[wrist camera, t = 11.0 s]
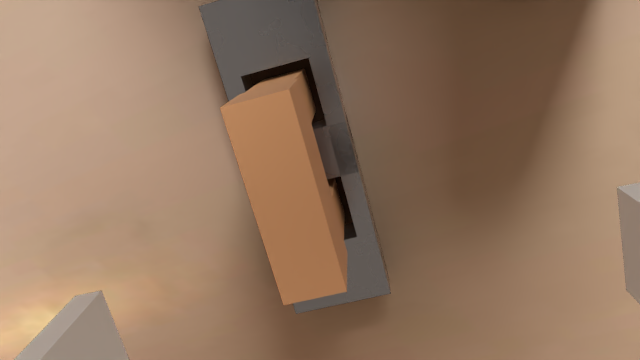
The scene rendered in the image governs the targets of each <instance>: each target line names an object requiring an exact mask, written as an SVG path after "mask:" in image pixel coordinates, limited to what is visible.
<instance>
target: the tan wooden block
mask: <svg viewBox="0 0 640 360" xmlns="http://www.w3.org/2000/svg"><path fill="white" fill-rule="evenodd" d="M220 110H221V113H222V116H223V119H224V122H225V125H226V128H227V131H228V135H229V138H230V141H231V144H232V147H233V150H234V153H235V156H236V159H237V163H238V166H239V169H240V172H241V175H242V178H243V181H244V184H245V187H246V190H247V194H248V197H249V200H250V203H251V206H252V209H253V212H254V215H255V218H256V221H257V225H258V228H259V231H260V234H261V237H262V240H263V243H264V246H265V249H266V253H267V256H268V259H269V262H270V265H271V268H272V271H273V274H274V277H275V280H276V284H277V287H278V290H279V293H280V296H281V299H282V302H283V305H288V304H292V303H297V302H301V301H306V300H311V299H315V298H320V297H324V296H329V295H334V294H338V293H343V292H347V249H346V246H345V242H344V222H345V213H344V210H343V206H342V202H341V199H340V195H339V192H338V188H337V184H336V181H335V178H331V179H327V178H326V174H325V170H324V167H323V163H322V160H321V156H320V152H319V149H318V145H317V142H316V138H315V134H314V131H313V127H312V124H311V123H312V120H313V117H314V115H315V112H316V108H315V104H314V100H313V97H312V93H311V90H310V86H309V82H308V79H307V75H306V71H305V68H303V69H300V70H296V71H292V72H289V73H285V74H282V75H278V76H274V77H271V78H267V79H263V80H262V81H260V82H259V83H257V84H256V85H255V86H253V87H252V88H250V89H249V90H247V91H246V92H245V93H242V94H239V95H238V96H236V97H235V98H233V99H232V100H230V101H229V102H228V103H226V104H225V105H223V106H222V107H220Z"/></svg>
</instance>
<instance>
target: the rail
mask: <svg viewBox="0 0 640 360" xmlns="http://www.w3.org/2000/svg"><path fill="white" fill-rule="evenodd" d="M199 9H200V12H201V15H202V19H203V22H204V25H205V28H206V31H207V34H208V37H209V41H210V44H211V47H212V50H213V53H214V56H215V60H216V63H217V66H218V69H219V72H220V75H221V78H222V82H223V85H224V88H225V91H226V94H227V97H228V101H230V100H232V99H233V98H235V97H236V96H238V95H239V94H242V93H245V92H246V91H247V90H249V89H250V88H252V87H253V83H252V79H251V76H250V74H251V73H255V72H258V71H262V70H266V69H269V68H273V67H276V66H280V65H284V64H287V63H291V62H295V61H298V60H302V59H305V58H309V61H310V65H311V69H312V72H313V76H314V80H315V84H316V87H317V91H318V95H319V98H320V102H321V106H322V109H323V113H324V117H325V119H323V120H319V121H315V122H312V123H311V124H312V127H313V131H314V134H315V138H316V142H317V145H318V149H319V152H320V156H321V160H322V163H323V167H324V170H325V174H326V178H327V179H331V178H335V177H339V176H341V179H342V183H343V187H344V190H345V194H346V198H347V201H348V205H349V209H350V213H351V216H352V220H353V222H352V223H348V224H344V242H345V246H346V249H347V292H343V293H338V294H334V295H329V296H324V297H320V298H315V299H311V300H306V301H301V302H297V303H293V306H294V309H295V312H296V314H297V313H302V312H307V311H311V310H316V309H321V308H325V307H330V306H335V305H339V304H344V303H349V302H353V301H358V300H363V299H367V298H372V297H376V296H381V295H386V294H390V293H391V292H390V285H389V278H388V273H387V269H386V265H385V261H384V257H383V253H382V250H381V246H380V242H379V238H378V234H377V230H376V227H375V223H374V219H373V215H372V211H371V207H370V203H369V200H368V196H367V192H366V188H365V184H364V180H363V177H362V173H361V169H360V165H359V161H358V157H357V154H356V150H355V146H354V142H353V138H352V134H351V130H350V127H349V123H348V119H347V115H346V111H345V107H344V104H343V100H342V96H341V92H340V88H339V84H338V80H337V77H336V73H335V69H334V65H333V61H332V57H331V54H330V50H329V46H328V42H327V38H326V34H325V31H324V27H323V23H322V19H321V15H320V11H319V7H318V4H317V0H219V1H216V2H212V3H209V4H206V5H202V6H199Z"/></svg>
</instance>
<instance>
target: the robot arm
mask: <svg viewBox="0 0 640 360" xmlns="http://www.w3.org/2000/svg"><path fill="white" fill-rule="evenodd" d="M617 195H618V206H619V216H620V227H621V238H622V249H623V260H624V271H625V282H626V290H627V291H628V292H629V293H630V294H631V295H632V296H633V297H634V299H635V300H636V301H637V302H638V303H639V304H640V183H635V184H630V185H625V186H620V187H617ZM14 360H129V357H128V355H127V352H126V350H125V347H124V345H123V342H122V340H121V338H120V335H119V333H118V330H117V328H116V325H115V323H114V320H113V318H112V315H111V313H110V310H109V308H108V305H107V303H106V300H105V298H104V295H103V293H102V291H97V292H92V293H87V294H82V295H77V296H75V297H74V298H73V299H72V300H71V301H70V302H69V303H68V304H67V305H66V306H65V307H64V308H63V309H62V310H61V311H60V312H59V313H58V314H57V315H56V316H55V317H54V318H53V319H52V320H51V321H50V323H49V324H48V325H47V326H46V327H45V328H44V329H43V330H42V331H41V332H40V333H39V334H38V335H37V336H36V337H35V338H34V339H33V340H32V341H31V342H30V343H29V344H28V345H27V346H26V348H25V349H24V350H23V351H22V352H21V353H20V354H19V355H18V356H17V357H16V358H15V359H14Z"/></svg>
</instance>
